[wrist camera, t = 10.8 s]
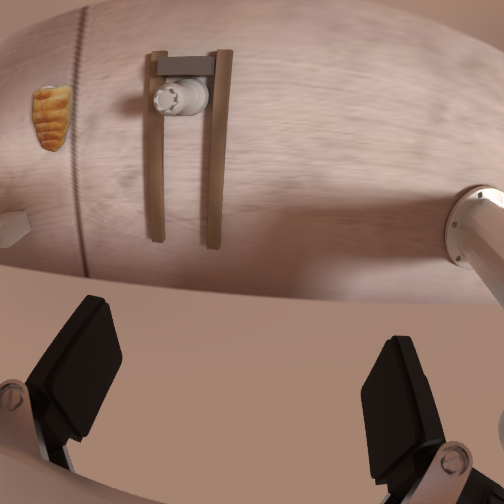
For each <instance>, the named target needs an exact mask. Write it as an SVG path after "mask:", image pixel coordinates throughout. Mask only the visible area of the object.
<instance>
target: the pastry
mask: <svg viewBox="0 0 504 504" xmlns="http://www.w3.org/2000/svg"><path fill="white" fill-rule="evenodd" d="M72 106H73V89H72V87H71V86H70V85H61V86H56V87H53V86H45V87H42V88H40V89H38V90H36V91H35V93H34V102H33V115H32V119H33V121H34V125H35V127H36V131H37V136H38V138H39V141H40V143H41V146H42V147H43V148H45V149H46V150H49V151H52V152H56V151H58V150H59V148H60V147H61V146H62V145H63V144H64V142H65V139H66V134H67V131H68V128H69V125H70V124H71V121H72V118H71V114H72Z"/></svg>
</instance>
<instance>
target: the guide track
mask: <svg viewBox="0 0 504 504" xmlns="http://www.w3.org/2000/svg"><path fill="white" fill-rule="evenodd" d="M167 55H168V52H167V51H152V53H151V67H150V85H149V114H148V173H149V202H150V221H151V237H152V242H159V243H163V241H164V240H165V218H164V173H163V151H164V115H162V114H160V113H159V112H158V111H157V110H156V108H155V106H154V103H153V98H154V95H155V92H156V90H157V89H158V88H159V87H160V86H161V85H163V84H165V83H166V76H162V75H157V68H158V58H161V57H167ZM232 59H233V51H232V50H219V49H217V59H216V71H215V84H214V98H213V112H212V128H211V146H210V167H209V191H208V223H207V248H208V249H216V250H219V248H220V242H221V220H222V200H223V182H224V165H225V149H226V134H227V120H228V107H229V94H230V82H231V70H232Z"/></svg>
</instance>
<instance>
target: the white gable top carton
mask: <svg viewBox="0 0 504 504" xmlns="http://www.w3.org/2000/svg"><path fill="white" fill-rule="evenodd" d="M30 231H31V227H30V224H29V220H28V217H27V213H26V210H22V211H12V212H3V213H2V214H0V248H8V247H11V246H12V245H14V244H15V243H16V242H17V241H19V240H20V239H21V238H22V237H24V236H25V235H26V234H27V233H29V232H30Z"/></svg>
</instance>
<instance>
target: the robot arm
mask: <svg viewBox="0 0 504 504" xmlns="http://www.w3.org/2000/svg"><path fill="white" fill-rule="evenodd" d="M445 246H446V249H447V252H448V254H449V256H450V257H451V259H452V260H453V261H454V262H455V263H456V264H457V265H458V266H460V267H462V268H464V269H469V270H473V269H474V270H475V272H476V273H477V274H478V275H479V277H480V278H481V279H482V281H483V282H484V283H485V284H486V286H487V287H488V288H489V290H490V291H491V292H492V294H493V295H494V297H495V298H496V299H497V301H498V302H499V304H500V305H501V306H502V308H503V309H504V193H503V192H502V191H501V190H499V189H498V188H496V187H493V186H486V185H484V186H479V187H476V188H474V189H472V190H470V191H469V192H467V193H466V194H464V195H463V196H462V197H461V198H460V199H459V200H458V202H457V203H456V205H455V206H454V207H453V209H452V211H451V213H450V215H449V218H448V221H447V224H446V229H445ZM121 363H122V353H121V349H120V346H119V342H118V338H117V335H116V331H115V327H114V323H113V319H112V315H111V311H110V307H109V304H108V303H106V302H105V299H104V298H101V297H97V296H92V295H87V296H86V297H85V298H84V300H83V301H82V302H81V304H80V305H79V306H78V308H77V309H76V310H75V312H74V313H73V314H72V316H71V317H70V318H69V320H68V321H67V322H66V324H65V325H64V326H63V328H62V329H61V330H60V332H59V333H58V335H57V336H56V337H55V339H54V340H53V342H52V343H51V345H50V346H49V347H48V349H47V350H46V352H45V353H44V355H43V356H42V357H41V359H40V360H39V362H38V363H37V365H36V366H35V368H34V369H33V371H32V372H31V374H30V375H29V377H28V379H27V381H26V382H25V384H24V383H23V382H21V381H20V380H16V379H10V380H7V381H4V382H3V383H1V384H0V504H165V503H162V502H158V501H154V500H150V499H147V498H143V497H140V496H137V495H133V494H130V493H127V492H124V491H121V490H118V489H115V488H112V487H109V486H107V485H104V484H101V483H99V482H96V481H93V480H91V479H88V478H86V477H83V476H81V475H78V474H76V473H75V470H74V468H73V465H72V462H71V459H70V456H69V453H68V450H67V447H66V443H67V441H68V439H69V438H71V439H73V440H75V441H78V442H81V440H82V438H83V437H86V436H87V435H88V434H89V431H90V429H91V427H92V425H93V422H94V420H95V418H96V416H97V414H98V412H99V409H100V407H101V405H102V403H103V401H104V399H105V397H106V394H107V392H108V390H109V388H110V386H111V384H112V382H113V380H114V378H115V376H116V373H117V372H118V370H119V368H120V365H121ZM361 401H362V408H363V415H364V422H365V430H366V437H367V446H368V455H369V464H370V473H371V477H372V478H373V479H375V483H376V485H382V484H387V486H388V494H387V495H386V496H385V498H384V499H383V501H382V502H381V503H380V504H504V489H503V487H501V486H500V485H499V484H497V483H495V482H494V481H493V480H491V479H490V478H488V477H486V476H485V475H483V474H482V473H480V472H479V471H477V470H476V469H474V468H473V467H472V464H473V460H472V455H471V452H470V451H469V449H468V448H467V447H466V446H465V445H464V444H463V443H460V442H457V441H450V442H446V440H445V436H444V432H443V429H442V425H441V421H440V418H439V414H438V411H437V408H436V404H435V401H434V398H433V395H432V392H431V389H430V386H429V383H428V380H427V378H426V376H425V375H424V373H423V370H422V367H421V364H420V361H419V358H418V356H417V353H416V350H415V347H414V345H413V342H412V340H411V338H410V337H409V336H393V337H392V338H391V339H390V340H387V341H386V343H385V345H384V347H383V349H382V351H381V353H380V355H379V357H378V358H377V360H376V363H375V364H374V366H373V368H372V370H371V372H370V374H369V376H368V378H367V379H366V381H365V383H364V385H363V386H362V389H361ZM498 433H499V438H500V442H501V445H502V448H503V450H504V410H503V412H502V414H501V416H500V420H499V424H498Z"/></svg>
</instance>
